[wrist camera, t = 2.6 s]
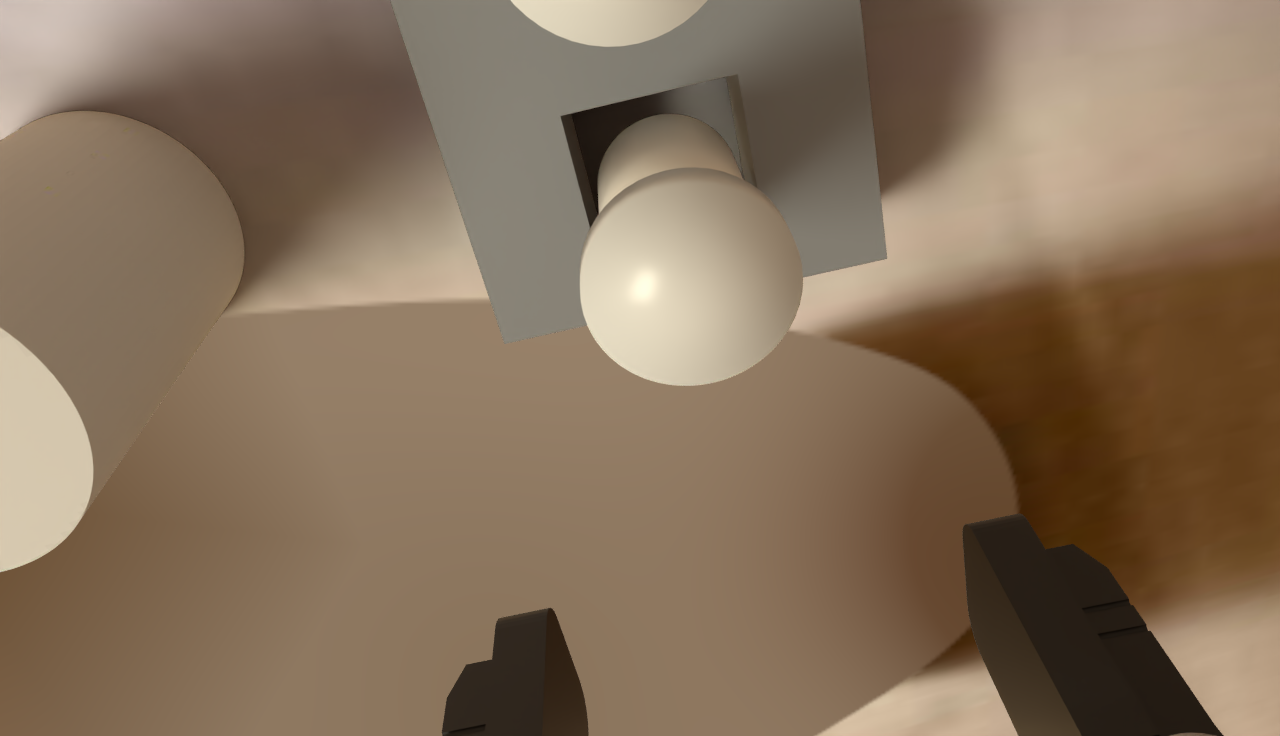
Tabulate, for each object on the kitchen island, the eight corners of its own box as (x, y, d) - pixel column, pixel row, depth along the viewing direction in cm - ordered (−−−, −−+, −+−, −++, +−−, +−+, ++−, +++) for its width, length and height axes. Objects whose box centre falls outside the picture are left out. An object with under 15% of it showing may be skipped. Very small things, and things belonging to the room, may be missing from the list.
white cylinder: (-61, 122, 31) (-387, 290, 20) (204, 100, 31) (13, 256, 20) (38, 352, 35) (-193, 590, 24) (271, 332, 35) (141, 561, 24)
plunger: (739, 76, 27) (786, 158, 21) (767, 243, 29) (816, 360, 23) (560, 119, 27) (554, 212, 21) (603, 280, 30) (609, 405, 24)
